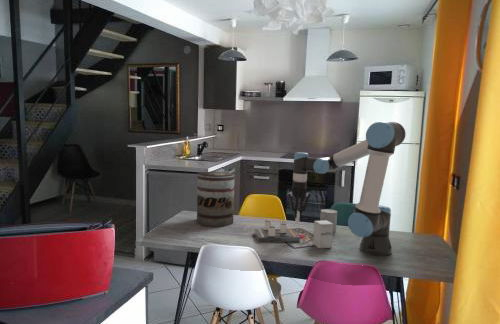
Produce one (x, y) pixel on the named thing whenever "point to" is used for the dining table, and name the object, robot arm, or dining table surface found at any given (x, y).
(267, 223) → the breaker
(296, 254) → the dining table surface
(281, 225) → the breaker mid
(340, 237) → the dining table surface
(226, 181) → the barrel
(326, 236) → the supplement box
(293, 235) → the panel
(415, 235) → the dining table surface
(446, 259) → the dining table surface
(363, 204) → the robot arm
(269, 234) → the breaker
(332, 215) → the grey block
